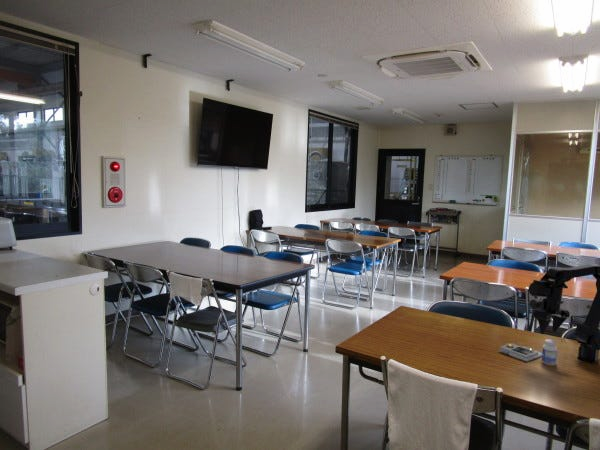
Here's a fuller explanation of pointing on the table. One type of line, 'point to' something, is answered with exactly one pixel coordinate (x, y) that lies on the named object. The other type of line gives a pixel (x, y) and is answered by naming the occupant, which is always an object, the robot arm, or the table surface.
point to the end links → (515, 349)
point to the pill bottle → (549, 352)
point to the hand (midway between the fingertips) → (548, 332)
